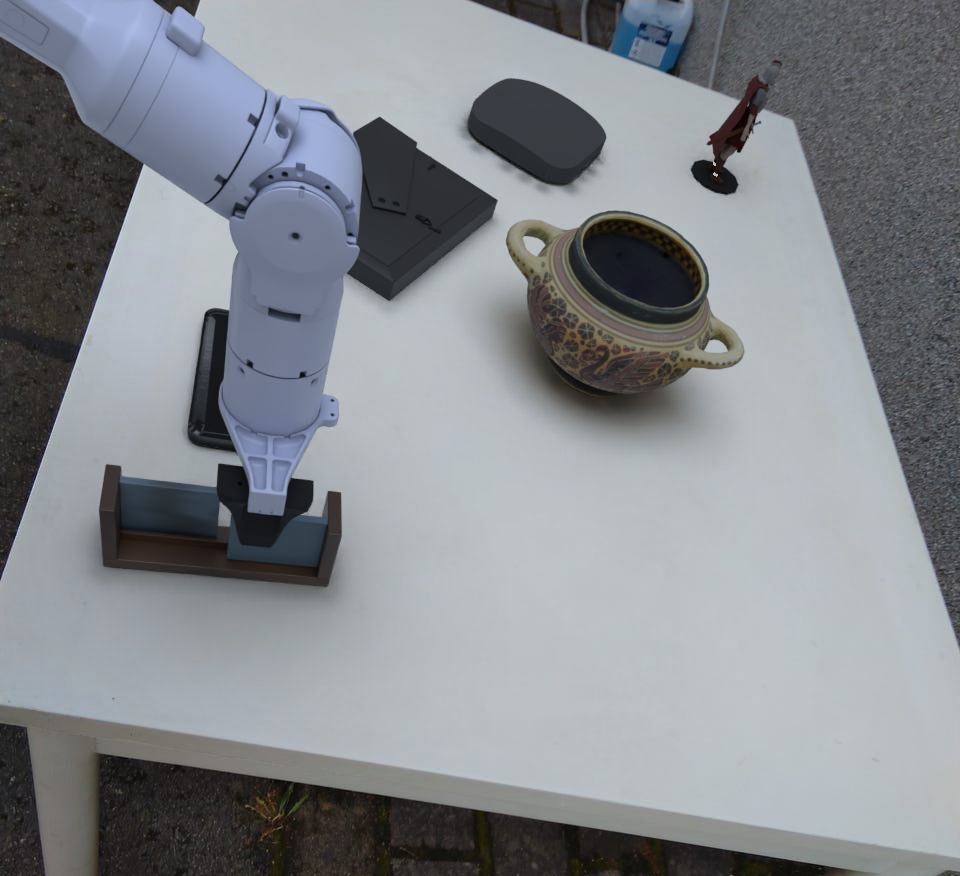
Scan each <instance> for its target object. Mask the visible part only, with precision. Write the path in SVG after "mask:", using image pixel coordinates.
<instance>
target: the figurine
mask: <svg viewBox="0 0 960 876" xmlns="http://www.w3.org/2000/svg"><path fill="white" fill-rule="evenodd" d="M782 67H783V63H782V62H781V60H779V59H774V60H773V61H772V62H771V64H770V65H768V66H767V67H766V70H765V71H764V73H763V74H762V73H761V74H757V75H755V76H753V77H752V78H751V80H749V82H748V83H747V86H746V90H745V92H744V96H743V97H742V99H741V100H740V101H739V102H738V104H736V106H735V107H734V109H733V110H732V111H731V113H729V116H728V117H727V118H726V119H725V120H724V122H723V123H722V125H720V127H719V128H718V130H716V131H715V132H713V133H711V134H710V135H709V136H708V138H709V140H707V142H706V144H705V145H706V146H711V147H712V154H713V157H714V158H713V161H714V162H715V163H716V166H714V165H713V161H712V160H707V159H699V160H695V161H694V162H693V163H692V165H691V168H690V171H691V173H692V176H693V178H694V179H695V180H696V181H697V182H698V183H699V184H700V185H701V186H702V187H704V188H706V189H708V190H710V191H712V192H713V193H716V194H721V195H727V196H728V195H731V194H734V193H736V192H737V189H738V187H739V183H738V180H737V178H736V176H735V175H734V174H733V173H732V171H730V170H729V169H728V168H727V167H725V165H726V163H727V160H728V159H729V157H731V156H733V155H734V154H735V152H736V153H737V154H741V152H742V151H743V149H744V147H745V144H746V143H747V141H748V139H750V135H754V133H755V132H754V127H755V126H758V125H761V124H762V121H761V120H758V121H757V122H756V120H757V117H758V115H759V114H760V113H761V112H762V111H763V110H764V108H765V107H766V105H767V104H768V101H769V99H770V98H771V89H770V87H773V86H774V85H775V83H776V79H777V78H778V77H779V75H780V73H781V71H780V70H781V69H782ZM769 86H770V87H769ZM714 172H715V173H716V174H718V176H717V177H716V176H714V175H713V173H714Z"/></svg>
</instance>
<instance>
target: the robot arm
mask: <svg viewBox="0 0 960 876" xmlns="http://www.w3.org/2000/svg"><path fill="white" fill-rule="evenodd" d="M205 31H206V28H205V24H203V23H202V22H201V21H199V20H198V19H197V18H196V17H194V16H193V15H192V14H191V13H189V11H187V10H185V8H183V7H182V6H176V7H175V9H174V10H173V12H172V13H170V12H169V11H167V10H166V9H165V8H163V7H162V6H161V5H159V4H158V3H156V2H155V0H0V38H2V39H3V40H5V41H8V42H9V43H10V44H12V45H13V46H15V47H17V48H19V49H20V50H22V51H23V52H24V53H26V54H28V55H30V56H31V57H32V58H34V59H36V60H37V61H40V62H41V63H43V64H44V65H46V66H47V67H49V68H51V69H52V70H54V71H56V72H57V73H59V74H60V76H61V77H62V79H63V81H64V82H65V85H66V88H67V90H68V92H69V95H70V97H71V100H72V102H73V105H74V107H75V110H76V112H77V115H78V116H79V118H80V121H81V122H82V123H83V124H84V125H85V126H87V127H88V128H89V129H91V130H93V131H94V132H96V133H97V134H98V135H100V136H101V137H103V138H105V139H106V140H107V141H109V142H111V143H112V144H113V145H115V146H116V147H118V148H120V149H121V150H123V151H124V152H126V153H128V155H130V156H131V157H132V158H135V159H136V160H137V161H139V162H140V163H142V164H143V165H145V166H146V167H148V168H149V169H151V170H152V171H154V172H155V173H156V174H158V175H159V176H161V177H163V178H164V179H165V180H167V181H168V182H170V183H171V184H173V185H174V186H176V187H177V188H179V189H180V190H181V191H183V192H185V193H186V194H187V195H189V196H191V197H192V198H194V199H195V200H196V201H197V202H200V204H203V205H204V206H206V207H207V208H209V209H210V210H211V211H213V212H214V213H216V214H217V215H219V216H221V217H222V218H224V219H225V220H227V221H228V223H229V224H228V227H229V234H230V237H231V240H232V242H233V243H232V244H233V245H234V246H235V250H236V251H237V253H236V254H235V257H234V259H233V264H232V273H231V282H230V283H231V284H230V294H229V295H230V297H229V308H228V310H229V320H228V332H227V343H226V357H225V369H224V379H223V381H222V383H221V385H220V390H219V401H218V402H219V409H220V412H221V415H222V417H223V420H224V422H225V424H226V427H227V429H228V432H229V434H230V437H231V439H232V441H233V444H234V446H235V449H236V451H235V452H236V453H237V456H238V458H239V461H240V463H241V465H236V464H227V463H220V462H219V463H217V471H216V486H215V487H216V490H217V495H218V498H219V501H220V504H222V505H223V506H224V507H226V508H227V510H228V511H229V512H230V515H231V514H232V516H233V518H234V522H235V527H236V532H237V536H238V539H239V541H240V543H241V544H242V545H246V546H256V547H266V548H271V547H272V546H273V545H274V543H275V542H276V541H277V539H278V538H279V536H280V534H281V533H282V531H283V530H284V528H285V527H286V525H287V524H288V523H289V522H290V521H291V520H292V519H293V518H295V517H297V516H299V515H304V514H306V513H308V511H310V508H311V506H312V505H313V502H314V487H315V486H314V482H315V481H314V480H313V479H306V478H305V479H304V478H295V477H293V475H294V474H295V472H296V470H297V468H298V466H299V464H300V462H301V460H302V459H303V456H304V455H305V453H306V451H307V449H308V447H309V446H310V443H312V440H313V438H314V436H315V434H316V433H317V430H318V429H319V428H321V427H325V428H334V427H336V426H337V425H338V422H339V417H340V402H339V400H338V398H337V397H336V396H333V395H330V394H325V393H324V390H325V384H326V380H327V375H328V370H329V366H330V359H331V356H332V352H333V346H334V341H335V336H336V331H337V327H338V321H339V316H340V311H341V305H342V301H343V296H344V290H345V286H344V284H345V283H344V277H345V275H346V274H348V273H347V272H348V271H349V270H350V269H351V267H352V266H353V265H354V263H355V261H356V259H357V257H358V254H359V251H360V248H359V247H358V246H357V245H356V244H357V239H358V231H359V218H360V204H361V190H362V175H363V172H362V163H361V155H360V150H359V147H358V144H357V142H356V140H355V138H354V136H353V132H352V131H351V130H350V128H349V127H348V126H347V125H346V124H345V123H344V122H343V121H342V120H341V119H340V118H339V117H338V116H337V114H336V112H335V111H334V109H333V108H331V107H330V106H329V105H327V104H324V103H322V102H320V101H318V100H317V101H316V100H312V99H309V98H302V97H288V96H286V95H285V94H282V95H278V94H277V93H275V92H274V91H273V90H271V89H270V88H267V89H266V88H265V87H264V86H263V85H261V83H258V81H256V80H255V79H254V78H253V77H251V76H250V75H249V74H248V73H246V72H245V71H244V70H242V69H241V68H240V67H238V66H237V64H234V63H233V62H232V61H230V59H228V58H227V57H225V56H224V55H223V54H222V53H221V52H219V51H218V50H217V49H215V47H213V46H211V45H210V44H209V43H207V42H206V41H205V40H204V39H203V38H204V34H205Z"/></svg>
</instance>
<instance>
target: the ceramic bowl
mask: <svg viewBox="0 0 960 876" xmlns="http://www.w3.org/2000/svg"><path fill="white" fill-rule="evenodd" d="M525 237H530V238H534V239H538V240H539V241H541V242H542V243H543V244H544V247H543V248H542V249H541V250H540V251H539V253H538V254H537V256H536V255H534V254H533V253H532V252H530V251H529V250H528V249H527V247H526V245H525V242H524V238H525ZM505 245H506V247H507V251H508V254H509V257H510V258H511V260H512V262H513V263H514V265H515V266H516V267H517V269H518V270H519V271H520V273H521V274H522V276H523V277H524V278H525V279H526V282H527V288H526V303H527V304H526V305H527V312H528V316H529V320H530V323H531V327H532V329H533V331H534V334H535V335H536V338H537V340H538V341H539V343H540V345H541V346H542V348H543V349H544V351H545V355H546V359H547V361H548V363H549V365H550V367H551V368H552V370H553V371H554V372H555V373H556V375H557V376H558V377H559V378H560V379H561V380H562V381H563V382H564V383H565V384H567V385H568V386H570V387H571V388H573V389H574V390H576V391H578V392H581V393H583V394H586V395H589V396H590V397H598V398H613V397H617V396H621V395H624V394H642V393H646V392H653V391H656V390H659V389H662V388H665V387H667V386H669V385H671V384H674V383H675V382H676V381H679V379H681V378H682V377H683V376H685V375H686V374H687V373H689V371H690V370H692V369H705V370H710V371H711V370H723V369H728V368H732V367H734V366H736V365H738V364H739V363H740V362H741V361H742V360H743V359H744V355H745V347H744V342H743V341H742V340H741V338H740V336H739V334H738V333H737V331H736V330H735V329H734V328H732V327H731V326H730V325H728V324H727V323H725V322H723V321H722V320H721V319H719V318H718V317H717V316H715V315H714V313H713V312H712V310H711V305H710V301H709V298H708V293H709V289H710V274H709V270H708V267H707V265H706V262H705V261H704V259H703V257H702V255H701V254H700V253H699V251H698V250H697V248H696V247H695V246H694V245H693V244H692V243H691V242H690V241H689V240H688V239H686V238H685V237H684V236H683V235H682V234H681V233H679V232H678V231H677V230H675V229H674V228H673V227H671V226H670V225H667V224H665V223H663V222H661V221H660V220H657V219H655V218H651V217H649V216H647V215H644V214H641V213H636V212H633V211H628V210H617V209H616V210H606V211H602V212H601V211H600V212H598V213H595V214H593V215H591V216H589V217H588V218H586V220H584V221H583V222H582V223H581V224H580V225H579V227H575V228H571V229H563V228H561V227H557V226H555V225H553V224H550V223H549V222H545V221H544V220H541V219H532V218H531V219H530V218H529V219H523V220H520V221H517V222H516V223H514V224H513V225H511V226H510V228H509V230H508V231H507V234H506V238H505ZM714 340H716V341H719V342H721V343H722V344H723V345H724V347H725V348H726V350H727V351H723V352H709V351H705V350H706V348H707V346H708V344H709V342H710V341H714Z"/></svg>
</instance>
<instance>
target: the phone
mask: <svg viewBox="0 0 960 876" xmlns="http://www.w3.org/2000/svg"><path fill="white" fill-rule="evenodd" d="M228 320H229V309H225V308H220V307H219V308H218V307H212V308H209V309H207V310H206V311H205V312H204V314H203V320H202V326H201V327H202V328H201V335H200V340H199V347H198V352H197V353H198V355H197V360H196V368H195V373H194V381H193V387H192V392H191V393H192V394H191V401H190V407H189V414H188V421H187V437H188V438H189V440H190V442H192V443H193V444H195V445H196V446H197V445H198V446H200V447H201V446H202V447H208V448H215V449H221V450H227V451H234V452H237V451H236V449H235V446H234V444H233V441H232V439H231V437H230V434H229V432H228V429H227V427H226V424H225V422H224V420H223V417H222V415H221V412H220V409H219V402H218V401H219V390H220V385H221V383H222V381H223V379H224V369H225V357H226V343H227V332H228Z"/></svg>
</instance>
